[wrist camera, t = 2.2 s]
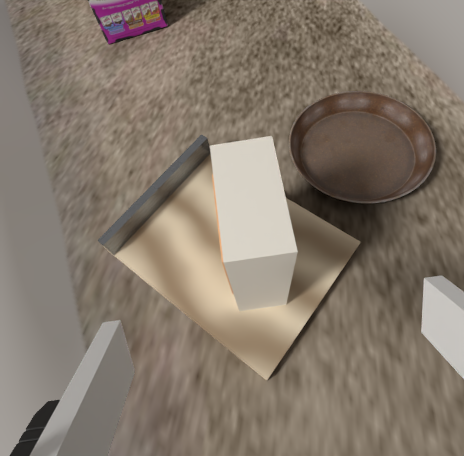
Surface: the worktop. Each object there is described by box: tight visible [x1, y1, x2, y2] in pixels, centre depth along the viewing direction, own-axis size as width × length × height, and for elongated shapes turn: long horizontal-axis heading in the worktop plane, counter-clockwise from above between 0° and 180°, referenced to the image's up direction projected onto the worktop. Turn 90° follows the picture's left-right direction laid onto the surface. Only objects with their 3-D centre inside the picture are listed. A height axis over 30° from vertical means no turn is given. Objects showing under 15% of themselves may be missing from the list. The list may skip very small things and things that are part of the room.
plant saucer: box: [289, 91, 436, 204], centre depth 45 cm, size 18×18×3 cm
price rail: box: [98, 135, 211, 255], centre depth 42 cm, size 18×1×3 cm, turn 142°
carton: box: [210, 136, 298, 311], centre depth 32 cm, size 5×10×15 cm, turn 7°
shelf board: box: [103, 153, 361, 381], centre depth 41 cm, size 18×24×2 cm
